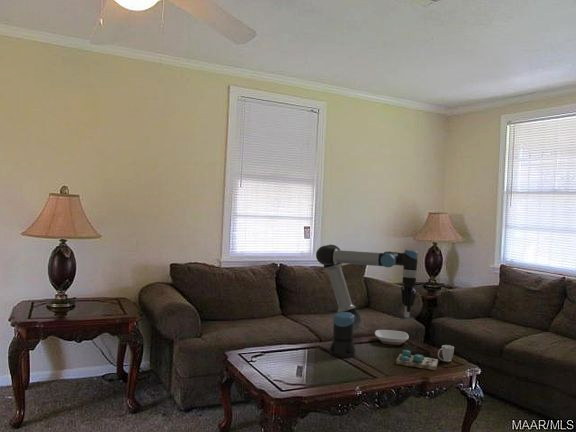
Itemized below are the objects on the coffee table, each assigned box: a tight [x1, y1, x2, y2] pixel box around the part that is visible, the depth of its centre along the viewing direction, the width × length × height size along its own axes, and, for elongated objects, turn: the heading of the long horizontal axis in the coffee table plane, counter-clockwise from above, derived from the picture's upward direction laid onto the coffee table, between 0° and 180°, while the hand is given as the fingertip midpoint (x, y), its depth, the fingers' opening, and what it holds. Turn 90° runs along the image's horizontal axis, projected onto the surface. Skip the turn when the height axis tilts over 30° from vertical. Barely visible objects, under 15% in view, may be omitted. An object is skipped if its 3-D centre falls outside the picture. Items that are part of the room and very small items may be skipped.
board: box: [395, 353, 439, 371], centre depth 263 cm, size 21×14×2 cm, turn 67°
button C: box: [413, 354, 423, 363], centre depth 260 cm, size 4×4×3 cm
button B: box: [401, 349, 411, 357], centre depth 269 cm, size 4×4×3 cm
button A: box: [400, 356, 409, 362], centre depth 262 cm, size 4×4×3 cm
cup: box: [437, 344, 455, 363], centre depth 270 cm, size 7×10×8 cm
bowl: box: [374, 329, 410, 346], centre depth 305 cm, size 22×22×5 cm
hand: (406, 317), depth 274 cm, fingers closed
